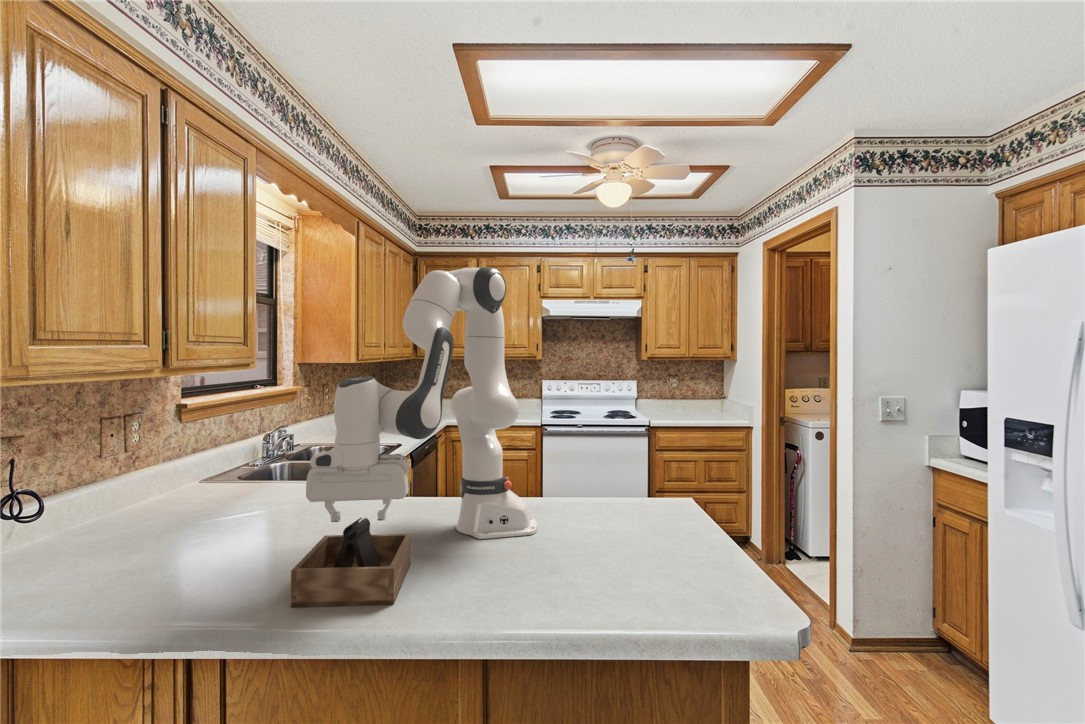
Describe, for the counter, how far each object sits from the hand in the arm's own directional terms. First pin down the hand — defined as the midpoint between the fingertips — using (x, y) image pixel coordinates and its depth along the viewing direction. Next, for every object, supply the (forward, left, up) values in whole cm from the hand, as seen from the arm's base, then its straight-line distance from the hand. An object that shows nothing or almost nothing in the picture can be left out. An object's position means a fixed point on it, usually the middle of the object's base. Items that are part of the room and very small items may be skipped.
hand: (358, 520), depth 108 cm
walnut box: (0, 0, -13) cm, 13 cm away
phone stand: (0, 0, -12) cm, 12 cm away
